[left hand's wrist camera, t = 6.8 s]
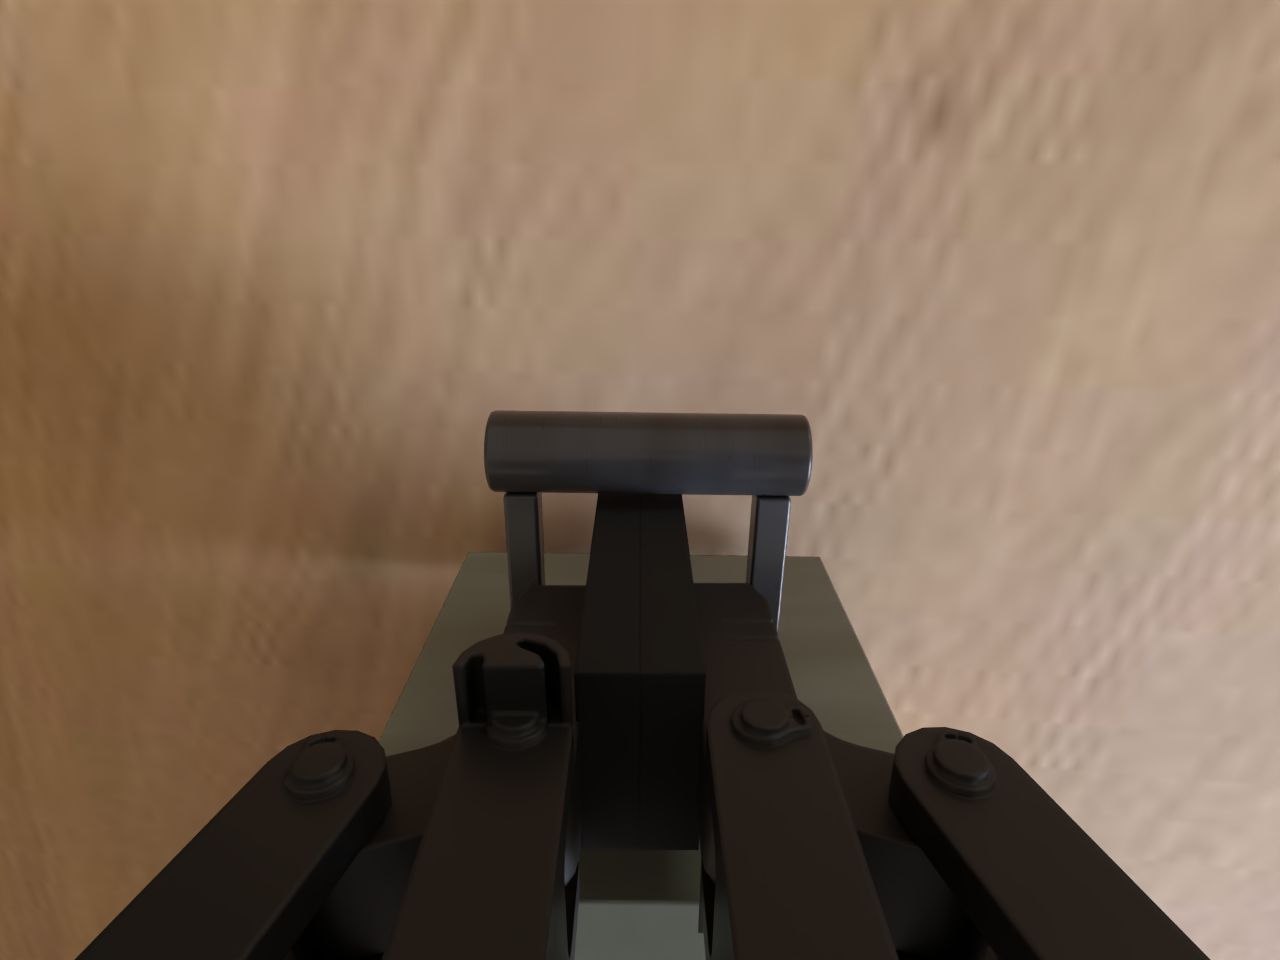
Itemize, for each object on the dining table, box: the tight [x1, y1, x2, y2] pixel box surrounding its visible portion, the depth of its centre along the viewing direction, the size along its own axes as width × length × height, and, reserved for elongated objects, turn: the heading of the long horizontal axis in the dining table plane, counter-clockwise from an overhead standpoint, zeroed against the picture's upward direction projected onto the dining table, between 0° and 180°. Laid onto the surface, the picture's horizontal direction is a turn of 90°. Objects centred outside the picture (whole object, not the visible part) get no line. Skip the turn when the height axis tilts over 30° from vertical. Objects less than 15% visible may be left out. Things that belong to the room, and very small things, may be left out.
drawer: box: [379, 411, 903, 960], centre depth 17 cm, size 24×9×10 cm, turn 179°
